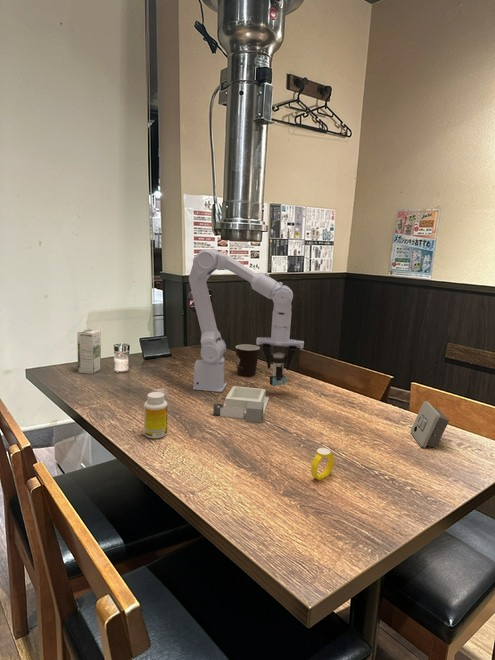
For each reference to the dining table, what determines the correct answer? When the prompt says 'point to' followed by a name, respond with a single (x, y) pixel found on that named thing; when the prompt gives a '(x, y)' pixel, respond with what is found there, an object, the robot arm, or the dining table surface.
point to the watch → (320, 454)
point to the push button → (278, 369)
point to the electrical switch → (429, 426)
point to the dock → (248, 401)
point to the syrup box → (89, 351)
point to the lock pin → (228, 411)
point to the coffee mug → (247, 359)
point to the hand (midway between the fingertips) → (278, 368)
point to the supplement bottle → (155, 415)
